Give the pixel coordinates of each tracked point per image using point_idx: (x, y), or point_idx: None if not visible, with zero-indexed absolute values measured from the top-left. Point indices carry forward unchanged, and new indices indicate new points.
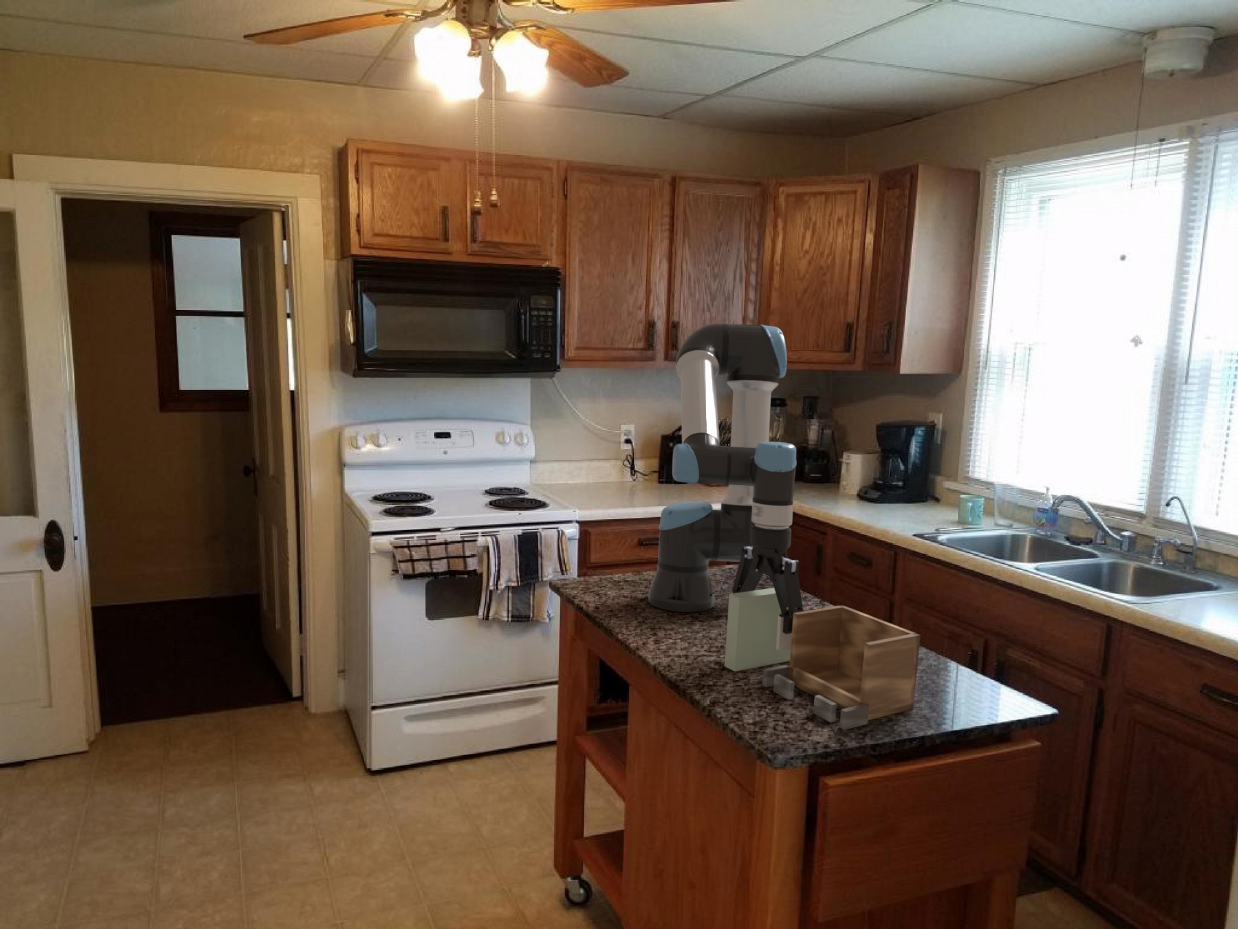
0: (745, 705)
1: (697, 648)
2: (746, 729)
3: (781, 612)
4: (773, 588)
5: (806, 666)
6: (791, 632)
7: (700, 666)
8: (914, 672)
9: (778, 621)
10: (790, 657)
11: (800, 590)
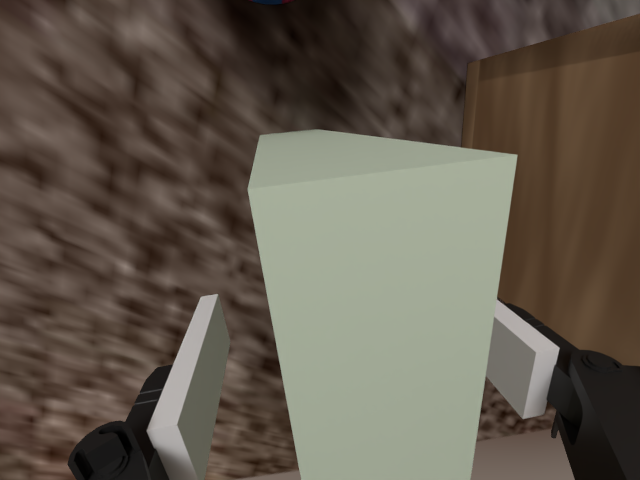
0: (489, 393)
1: (142, 377)
2: (552, 421)
3: (560, 431)
4: (319, 474)
5: None
6: (512, 308)
7: (279, 408)
8: None
9: (503, 390)
10: (504, 300)
11: (508, 167)
